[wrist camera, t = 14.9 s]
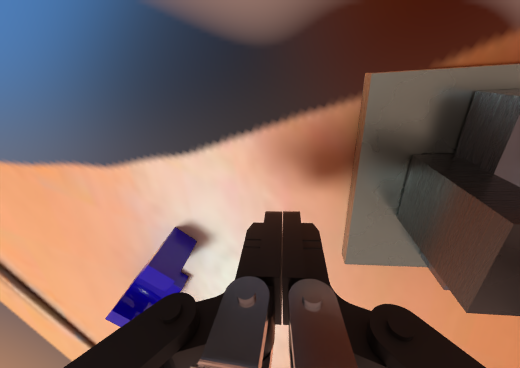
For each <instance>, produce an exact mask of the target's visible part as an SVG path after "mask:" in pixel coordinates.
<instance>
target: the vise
mask: <svg viewBox="0 0 520 368" xmlns="http://www.w3.org/2000/svg"><path fill="white" fill-rule="evenodd" d="M507 89H520V63H515V64H499V65H484V66H468V67H453V68H437V69H422V70H406V71H392V72H375V73H365V79H364V87H363V95H362V102H361V110H360V118H359V125H358V133H357V141H356V148H355V156H354V164H353V172H352V179H351V187H350V195H349V202H348V210H347V218H346V226H345V233H344V241H343V249H342V256H343V259H344V263H345V264H357V265H384V266H411V267H427V265H426V264H425V262H424V261H423V260H422V258H421V257H420V256H421V253H422V251H421V250H420V249H419V247H418V246H417V245H416V243H415V242H414V241H413V239H412V238H411V236H410V235H409V234H408V232H407V231H406V230H405V228H404V227H403V226H402V224H401V223H400V221H399V220H398V219H397V216H398V212H399V208H400V204H401V200H402V196H403V192H404V188H405V184H406V180H407V176H408V172H409V168H410V164H411V160H412V156H413V155H431V154H455V152H456V149H457V146H458V143H459V140H460V137H461V134H462V131H463V128H464V125H465V122H466V119H467V116H468V113H469V110H470V107H471V104H472V101H473V98H474V95H475V92H476V91H487V90H507Z"/></svg>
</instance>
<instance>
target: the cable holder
mask: <svg viewBox="0 0 520 368" xmlns="http://www.w3.org/2000/svg"><path fill="white" fill-rule="evenodd" d="M196 242H197V241H196V240H195V239H193V238H192V237H190V236H188V235H187V234H185V233H184V232H182V231H181V230H179V229H178V228H176V227H175V228H174V229H173V231H172V232H171V233H170V234H169V236H168V237H167V238H166V240H165V241H164V242H163V243H162V245H161V246H160V247H159V249H158V250H157V251H156V252H155V254H154V255H153V256H152V257H151V259H150V260H149V261H148V263H147V264H146V265H145V266H144V268H143V269H142V270H141V272H140V273H139V274H138V275H137V277H136V278H135V279H134V281H133V282H132V283H131V285H130V286H129V287H128V289H127V290H126V291H125V293H124V294H123V295H122V297H121V298H120V299H119V301H118V302H117V304H116V305H115V306H114V308H113V309H112V310H111V312H110V313H109V314H108V316H107V317H106V318H105V319H106V320H108V321H110V322H112V323H114V324H116V325H118V326H120V327H122V326H124V325H125V324H126V323H128V322H129V321H131V320H132V319H134V318H135V317H136V316H138V315H139V314H141V313H142V312H143V311H145V310H146V309H148V308H149V307H151V306H152V305H153V304H155V303H156V302H158V301H159V300H161V299H162V298H164V297H166V296H168V295H170V294H173V293H179V292H180V291H181V290H182V289H183V287H184V284H185V282H186V280H187V278H188V276H187V275H185V274H184V273H182V272H181V270H182V268H183V266H184V264H185V263H186V261H187V259H188V257H189V255H190V253H191V252H192V250H193V248H194V246H195V244H196Z"/></svg>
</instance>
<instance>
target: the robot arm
mask: <svg viewBox="0 0 520 368" xmlns="http://www.w3.org/2000/svg"><path fill="white" fill-rule="evenodd" d="M282 299H283V325H289V358H290V368H486V367H484V366H483V365H482V364H480V363H479V362H478V361H476V360H475V359H474V358H472V357H471V356H470V355H468V354H467V353H466V352H464V351H463V350H462V349H460V348H459V347H458V346H456V345H455V344H454V343H452V342H451V341H450V340H448V339H447V338H446V337H444V336H443V335H442V334H440V333H439V332H438V331H436V330H435V329H434V328H432V327H431V326H430V325H428V324H427V323H426V322H424V321H423V320H422V319H420V318H419V317H418V316H416V315H415V314H413V313H412V312H410V311H409V310H407V309H405V308H403V307H400V306H397V305H393V304H382V305H379V306H377V307H375V308H374V309H373V310H372V311H370V310H367V309H364V308H361V307H358V306H355V305H352V304H350V303H348V302H346V301H344V300H343V299H342V298H340V297H339V296H338V295H337V294H336V293H335V292H334V290H333V289H332V287H331V285H330V282H329V278H328V273H327V268H326V263H325V258H324V253H323V249H322V243H321V238H320V233H319V230H318V229H317V228H316V227H315V226H314V224H313V223H301V218H300V212H287V211H283V231H282V212H273V211H266V212H265V218H264V223H253V224H252V225H251V226H250V227H249V229H248V230H247V233H246V237H245V241H244V245H243V249H242V254H241V258H240V262H239V266H238V270H237V274H236V278H235V280H234V281H233V282H232V283H230V285H229V286H228V287H227V288H226V290H225V292H224V293H223V294H221V295H219V296H217V297H214V298H210V299H206V300H202V301H199V302H195V300H194V298H193V297H192V296H191V295H189V294H187V293H173V294H170V295H168V296H166V297H164V298H162V299H161V300H159V301H158V302H156V303H155V304H153V305H152V306H151V307H149V308H148V309H146V310H145V311H143V312H142V313H141V314H139V315H138V316H136V317H135V318H134V319H132V320H131V321H129V322H128V323H126V324H125V325H124V326H122V327H121V328H119V329H118V330H116V331H115V332H114V333H112V334H111V335H109V336H108V337H106V338H105V339H104V340H102V341H101V342H99V343H98V344H97V345H95V346H94V347H92V348H91V349H89V350H88V351H87V352H85V353H84V354H82V355H81V356H79V357H78V358H77V359H75V360H74V361H72V362H71V363H69V364H68V365H67V366H65V367H64V368H271V362H272V354H273V345H274V337H275V324H279V325H281V314H282Z"/></svg>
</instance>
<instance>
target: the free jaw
mask: <svg viewBox="0 0 520 368" xmlns="http://www.w3.org/2000/svg"><path fill="white" fill-rule="evenodd" d="M397 219H398V220H399V221H400V223H401V224H402V226H403V227H404V228H405V230H406V231H407V232H408V234H409V235H410V236H411V238H412V239H413V241H414V242H415V243H416V245H417V246H418V247H419V249H420V250H421V251H422V253H421V256H420V257H421V258H422V260H423V261H424V262H425V264H426V265H427V267H428V268H429V270H430V271H431V272H432V274H433V275H434V277H435V278H436V279H437V281H438V282H439V284H440V285H441V287H442V288H443V289H444V290H450V291H451V292H452V294H453V295H454V296H455V298H456V299H457V301H458V302H459V303H460V305H461V306H462V307H463V309H464V310H465V311H466V313H477V314H494V315H511V316H520V89H507V90H487V91H476V92H475V95H474V98H473V101H472V104H471V107H470V110H469V113H468V116H467V119H466V122H465V125H464V128H463V131H462V134H461V137H460V140H459V143H458V146H457V149H456V152H455V154H431V155H413V156H412V160H411V164H410V168H409V172H408V176H407V180H406V184H405V188H404V192H403V196H402V200H401V204H400V208H399V212H398V216H397Z"/></svg>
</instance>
